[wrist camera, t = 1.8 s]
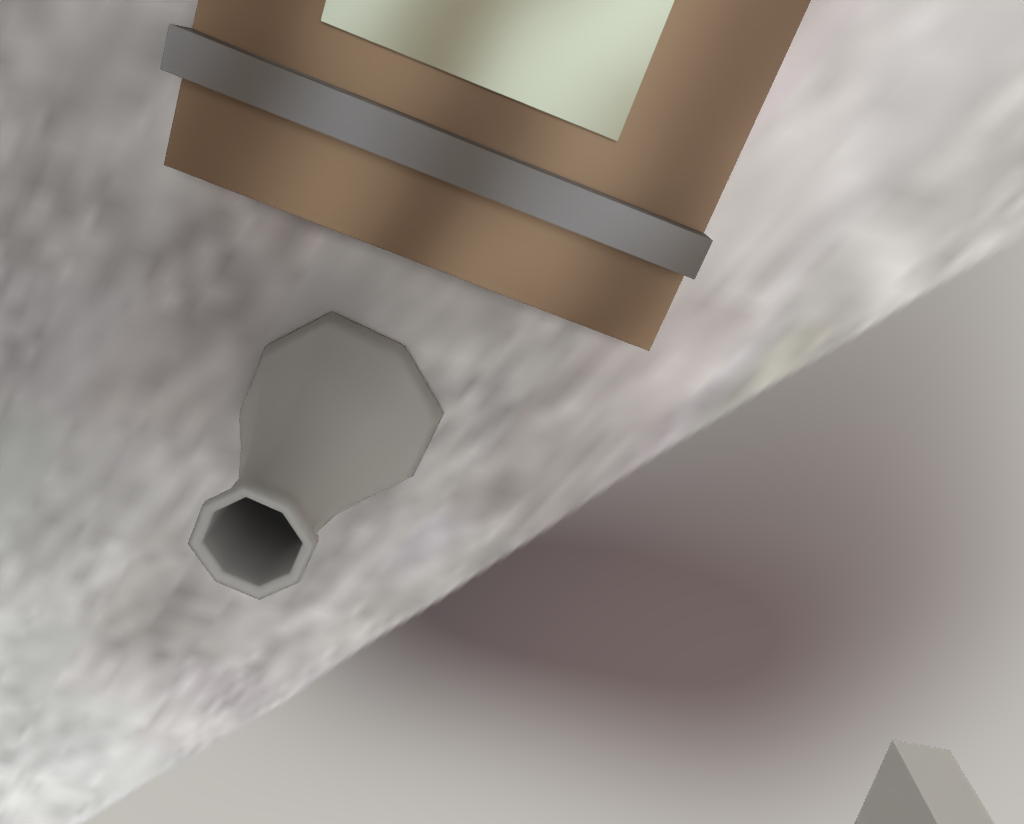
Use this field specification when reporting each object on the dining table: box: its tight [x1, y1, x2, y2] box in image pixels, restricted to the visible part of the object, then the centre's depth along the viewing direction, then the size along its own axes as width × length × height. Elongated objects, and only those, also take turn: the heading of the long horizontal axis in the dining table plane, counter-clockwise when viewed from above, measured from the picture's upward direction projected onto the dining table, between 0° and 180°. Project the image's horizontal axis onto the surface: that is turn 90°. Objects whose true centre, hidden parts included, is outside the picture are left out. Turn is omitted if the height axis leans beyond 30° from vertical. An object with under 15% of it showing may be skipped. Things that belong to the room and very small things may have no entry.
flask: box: [188, 312, 443, 600], centre depth 26 cm, size 7×7×10 cm
